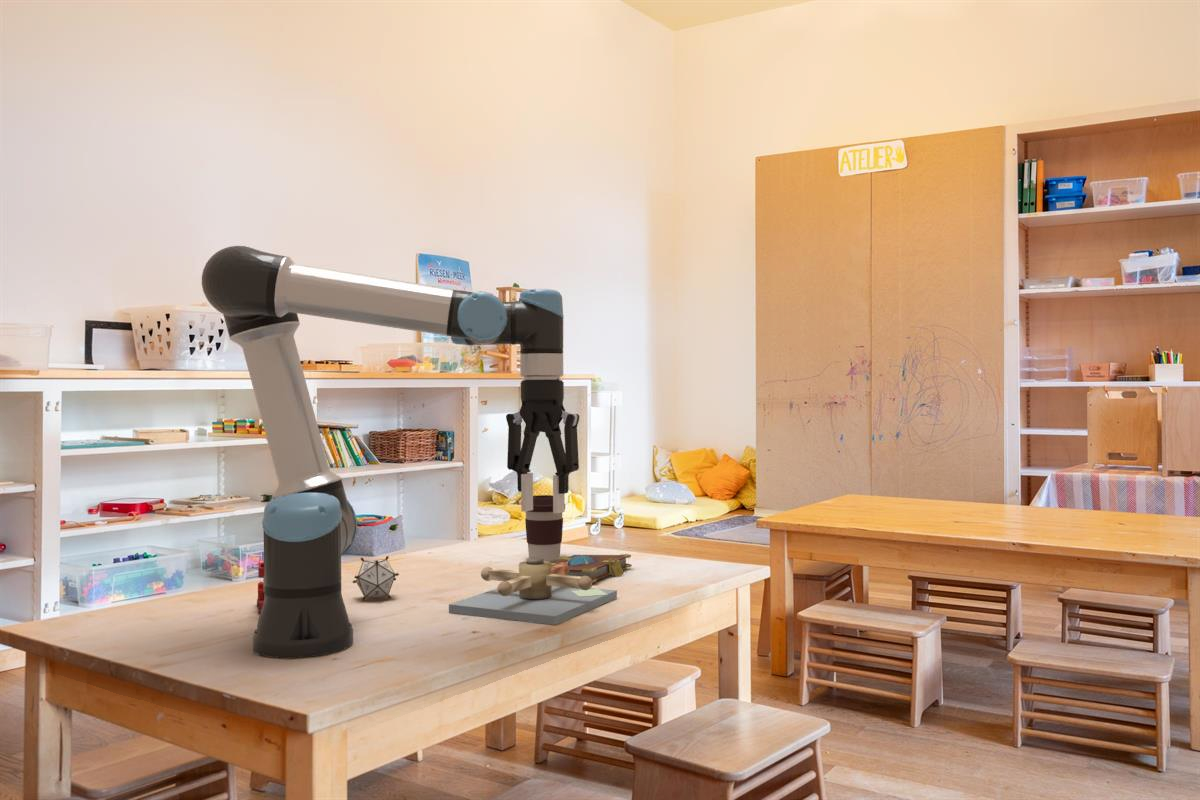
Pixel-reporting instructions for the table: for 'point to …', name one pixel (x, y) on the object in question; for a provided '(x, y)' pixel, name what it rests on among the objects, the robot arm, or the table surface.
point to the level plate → (534, 605)
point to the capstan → (535, 579)
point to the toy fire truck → (260, 587)
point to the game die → (375, 578)
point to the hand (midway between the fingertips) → (543, 511)
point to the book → (595, 565)
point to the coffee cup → (544, 529)
